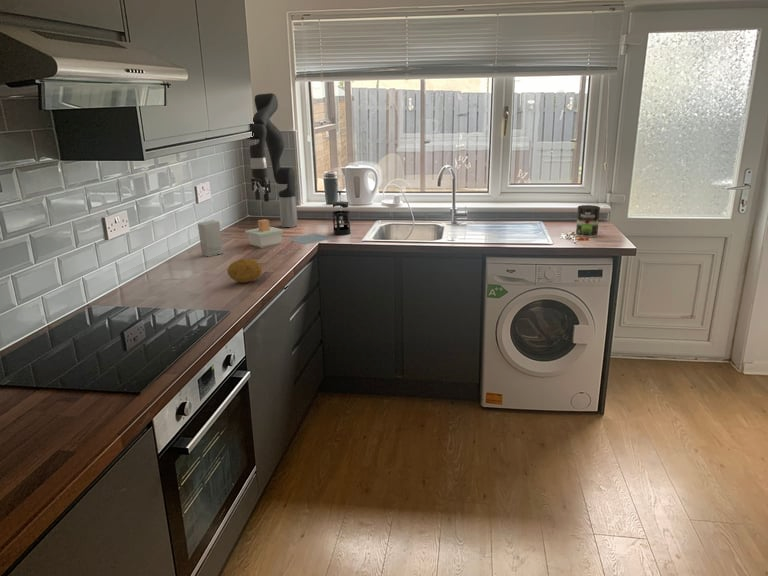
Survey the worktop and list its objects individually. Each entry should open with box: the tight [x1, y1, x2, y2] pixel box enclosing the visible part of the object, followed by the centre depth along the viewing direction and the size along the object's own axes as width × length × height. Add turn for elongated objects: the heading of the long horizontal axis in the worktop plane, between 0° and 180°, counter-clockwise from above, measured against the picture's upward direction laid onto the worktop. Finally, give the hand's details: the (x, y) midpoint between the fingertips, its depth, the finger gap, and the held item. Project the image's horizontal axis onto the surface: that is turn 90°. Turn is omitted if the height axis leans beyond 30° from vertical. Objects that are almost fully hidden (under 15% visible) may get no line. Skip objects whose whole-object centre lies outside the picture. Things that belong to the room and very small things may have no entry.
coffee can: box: [575, 204, 601, 238], centre depth 283 cm, size 10×10×14 cm
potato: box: [227, 258, 262, 284], centre depth 225 cm, size 10×13×9 cm
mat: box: [285, 233, 334, 245], centre depth 296 cm, size 18×18×1 cm
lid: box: [244, 218, 285, 237], centre depth 286 cm, size 14×14×6 cm
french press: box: [331, 190, 352, 237], centre depth 302 cm, size 12×9×23 cm
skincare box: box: [197, 220, 224, 258], centre depth 269 cm, size 8×7×16 cm
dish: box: [247, 233, 283, 249], centre depth 287 cm, size 12×12×6 cm
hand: (262, 200), depth 282 cm, fingers open, 8 cm apart
